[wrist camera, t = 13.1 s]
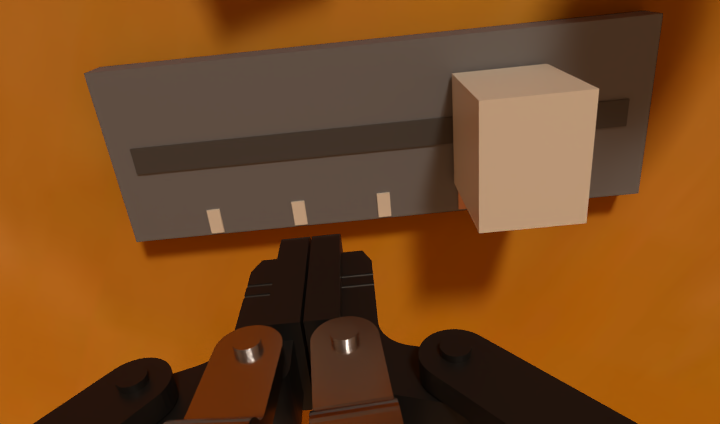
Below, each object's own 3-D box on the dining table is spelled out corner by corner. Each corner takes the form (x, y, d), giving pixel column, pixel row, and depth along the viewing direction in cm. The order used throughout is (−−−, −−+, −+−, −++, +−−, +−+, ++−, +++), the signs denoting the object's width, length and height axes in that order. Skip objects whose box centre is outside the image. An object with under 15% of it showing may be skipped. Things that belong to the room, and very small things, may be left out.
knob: (454, 183, 24) (478, 233, 20) (451, 73, 22) (478, 100, 18) (541, 174, 24) (586, 223, 20) (547, 63, 22) (599, 88, 18)
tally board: (147, 227, 27) (135, 242, 25) (99, 67, 23) (82, 74, 22) (623, 181, 26) (639, 193, 25) (644, 10, 23) (664, 13, 21)
